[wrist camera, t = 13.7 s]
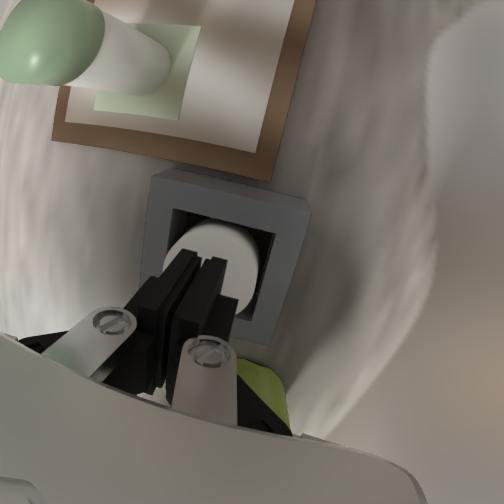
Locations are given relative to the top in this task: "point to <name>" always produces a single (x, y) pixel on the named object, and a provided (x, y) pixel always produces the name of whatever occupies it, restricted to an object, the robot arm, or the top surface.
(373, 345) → the top surface
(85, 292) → the top surface
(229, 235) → the button cap
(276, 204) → the button box
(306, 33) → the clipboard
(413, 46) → the top surface
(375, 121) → the top surface
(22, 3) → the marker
